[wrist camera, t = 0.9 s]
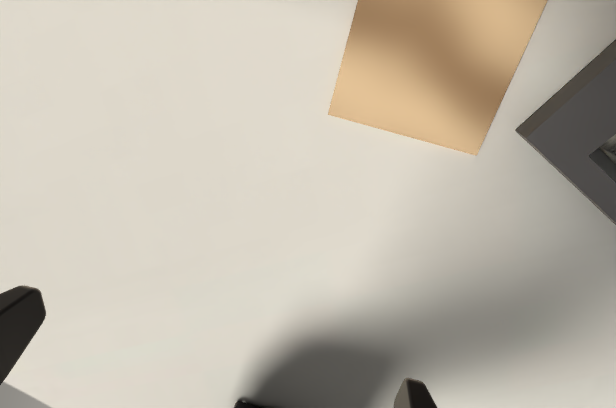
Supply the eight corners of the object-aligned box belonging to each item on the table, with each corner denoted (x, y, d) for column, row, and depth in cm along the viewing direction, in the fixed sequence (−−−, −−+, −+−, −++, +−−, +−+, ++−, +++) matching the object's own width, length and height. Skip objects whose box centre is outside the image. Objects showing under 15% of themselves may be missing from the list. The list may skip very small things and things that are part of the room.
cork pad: (475, 153, 21) (476, 155, 20) (328, 113, 21) (327, 114, 20) (552, -16, 17) (555, -17, 17) (375, -63, 17) (374, -64, 17)
